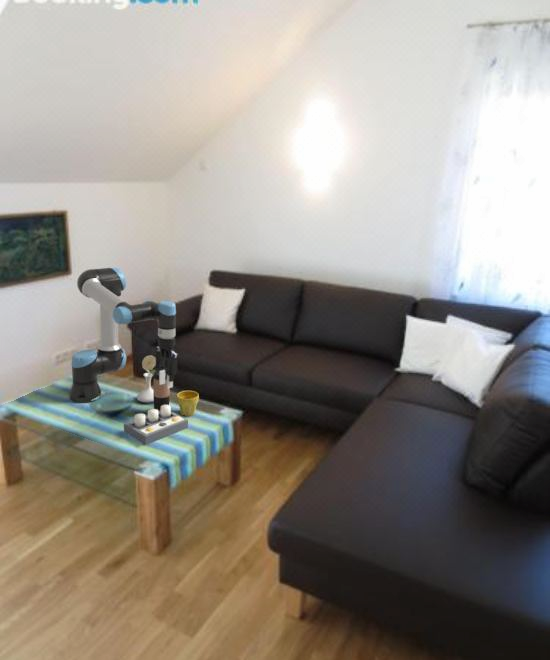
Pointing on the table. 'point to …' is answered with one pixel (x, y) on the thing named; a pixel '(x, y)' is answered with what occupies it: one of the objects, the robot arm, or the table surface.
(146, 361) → the flower in vase
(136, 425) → the button
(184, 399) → the plant pot
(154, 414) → the button
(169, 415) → the button
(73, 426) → the table surface
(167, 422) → the strip
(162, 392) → the travel mug
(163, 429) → the tray
